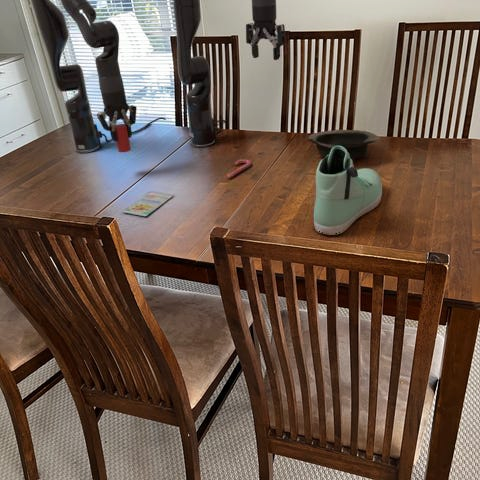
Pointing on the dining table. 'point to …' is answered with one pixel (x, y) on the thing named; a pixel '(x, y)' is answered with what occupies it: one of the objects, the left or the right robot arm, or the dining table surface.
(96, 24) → the left robot arm
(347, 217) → the sneaker
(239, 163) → the candy cane
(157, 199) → the baking ingredient package
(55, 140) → the dining table surface
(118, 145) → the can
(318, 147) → the stone bowl
